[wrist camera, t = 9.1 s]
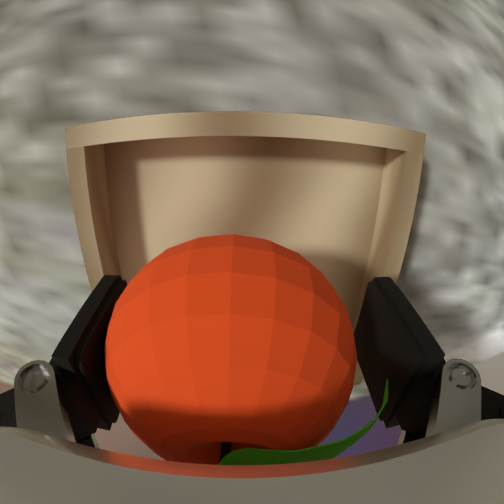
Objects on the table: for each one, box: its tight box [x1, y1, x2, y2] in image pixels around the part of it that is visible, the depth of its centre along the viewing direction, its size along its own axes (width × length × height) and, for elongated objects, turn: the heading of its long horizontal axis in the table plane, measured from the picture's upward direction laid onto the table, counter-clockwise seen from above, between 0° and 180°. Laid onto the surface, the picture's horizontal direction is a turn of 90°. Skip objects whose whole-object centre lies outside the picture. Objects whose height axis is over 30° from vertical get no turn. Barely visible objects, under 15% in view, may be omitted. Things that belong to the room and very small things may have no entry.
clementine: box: [104, 234, 388, 465], centre depth 8 cm, size 8×7×7 cm
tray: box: [65, 111, 426, 385], centre depth 12 cm, size 13×13×2 cm
